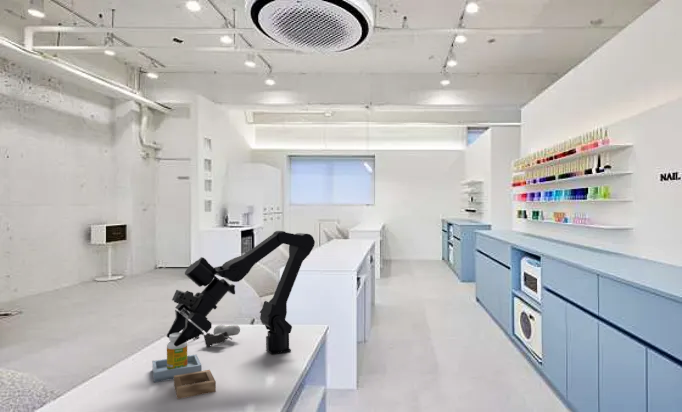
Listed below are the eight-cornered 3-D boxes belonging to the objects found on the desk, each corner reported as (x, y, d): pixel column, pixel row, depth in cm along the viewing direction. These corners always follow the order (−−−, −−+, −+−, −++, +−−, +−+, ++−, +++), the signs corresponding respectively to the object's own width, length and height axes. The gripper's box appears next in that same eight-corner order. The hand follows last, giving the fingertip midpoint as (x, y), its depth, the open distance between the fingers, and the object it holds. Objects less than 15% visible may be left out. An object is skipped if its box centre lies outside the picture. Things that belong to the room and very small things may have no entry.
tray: (196, 362, 126) (196, 354, 126) (201, 374, 117) (201, 365, 117) (152, 369, 120) (152, 361, 120) (154, 382, 111) (154, 372, 111)
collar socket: (209, 378, 113) (209, 369, 113) (215, 391, 105) (215, 381, 105) (173, 385, 109) (173, 375, 109) (177, 399, 101) (177, 388, 101)
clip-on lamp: (183, 352, 145) (223, 347, 137) (178, 334, 145) (218, 328, 137) (207, 339, 155) (245, 333, 148) (202, 322, 155) (241, 316, 148)
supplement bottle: (174, 374, 115) (173, 338, 115) (163, 369, 118) (162, 335, 118) (191, 368, 119) (191, 333, 119) (180, 364, 122) (180, 330, 123)
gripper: (182, 275, 129) (143, 317, 123) (199, 283, 113) (155, 332, 107) (208, 298, 133) (172, 339, 127) (228, 309, 118) (187, 356, 111)
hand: (171, 341), depth 118 cm, fingers open, 9 cm apart
